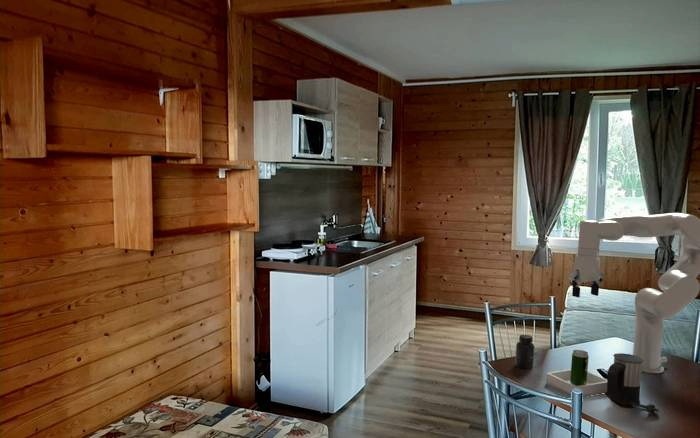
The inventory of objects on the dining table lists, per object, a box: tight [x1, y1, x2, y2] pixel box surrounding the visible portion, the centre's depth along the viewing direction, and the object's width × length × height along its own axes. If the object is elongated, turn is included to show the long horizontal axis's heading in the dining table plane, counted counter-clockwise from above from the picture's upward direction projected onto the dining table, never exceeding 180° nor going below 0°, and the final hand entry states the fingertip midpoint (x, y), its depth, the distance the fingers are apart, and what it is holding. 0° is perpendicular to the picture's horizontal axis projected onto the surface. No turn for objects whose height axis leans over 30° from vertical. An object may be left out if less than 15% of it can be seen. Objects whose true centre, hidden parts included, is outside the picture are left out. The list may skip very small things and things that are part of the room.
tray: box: [545, 368, 607, 399], centre depth 197 cm, size 16×14×4 cm
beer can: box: [570, 349, 590, 386], centre depth 197 cm, size 5×5×12 cm
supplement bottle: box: [514, 334, 535, 370], centre depth 217 cm, size 7×7×12 cm
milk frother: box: [606, 352, 659, 414], centre depth 183 cm, size 14×16×15 cm
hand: (585, 295), depth 216 cm, fingers open, 9 cm apart
